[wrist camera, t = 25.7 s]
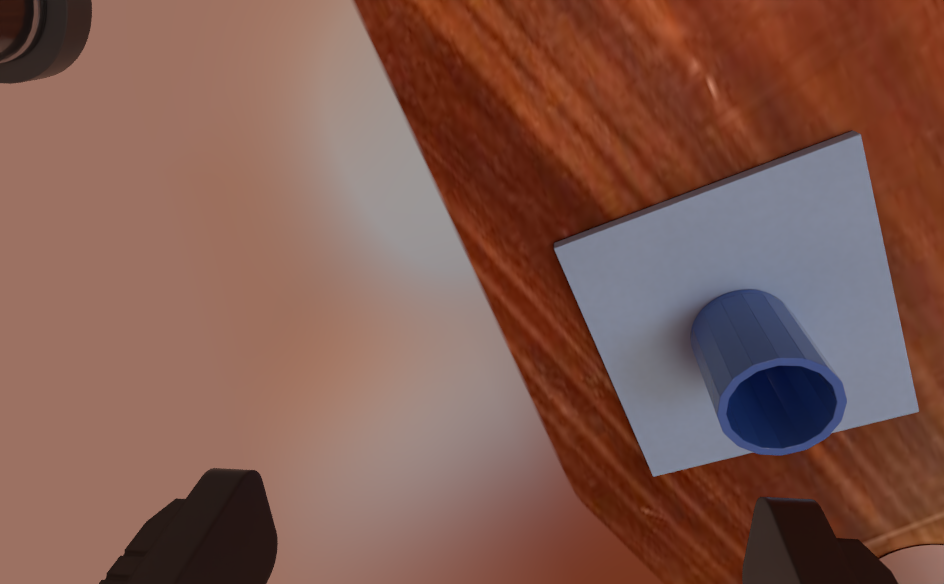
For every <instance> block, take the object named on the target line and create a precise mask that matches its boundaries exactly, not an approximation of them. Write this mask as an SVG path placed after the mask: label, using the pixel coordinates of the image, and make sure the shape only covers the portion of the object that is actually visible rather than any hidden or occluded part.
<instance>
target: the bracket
mask: <svg viewBox="0 0 944 584" xmlns="http://www.w3.org/2000/svg"><path fill="white" fill-rule="evenodd" d="M879 560H880V561H881V562H882V563H883V564H884V565H885V566H886V567H887V568H889V569H890V570H891V571H892V573H893V575H894V577H895V579H896V580H897V582H898V584H944V545H924V546H916V547H911V548H906V549H902V550H899V551H896V552H893V553H891V554H888V555H886V556H884V557H882V558H880V559H879Z"/></svg>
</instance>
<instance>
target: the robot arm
mask: <svg viewBox="0 0 944 584" xmlns="http://www.w3.org/2000/svg"><path fill="white" fill-rule="evenodd" d="M46 13H47V2H46V0H0V63H6V62H11V61H15V60H17V59H20V58H22V57H24V56H25V55H27V54H28V53H29V52H30V51H31V50H32V49H33V48H34V47H35V46H36V44H37V43H38V41H39V40H40V38H41V35H42V33H43V30H44V27H45V22H46ZM276 554H277V533H276V529H275V526H274V522H273V518H272V514H271V511H270V507H269V503H268V500H267V496H266V492H265V489H264V485H263V481H262V478H261V476H260V474H259V473H258V472H257V471H255V470H239V469H219V468H218V469H217V468H213V469H210V470H208V471H207V472H206V473H205V474H204V475H203V476H202V477H201V479H200V480H199V481H198V483H197V484H196V486H195V487H194V488H193V490H192V491H191V493H190V494H189V495H188V497H187V498H186V499H175V500H174V501H172V502H171V503H170V504H168V505H167V506H166V507H165V508H163V509H162V510H161V511H160V512H158V513H157V514H156V515H154V516H153V517H152V518H151V519H149V520H148V521H147V522H146V523H145V524H144V525H143V527H142V528H141V530H140V531H139V532H138V533H137V535H136V536H135V537H134V539H133V540H132V541H131V542H130V544H129V545H128V546H127V548H126V549H125V554H124V555H123V556H120V557H119V558H118V560H117V561H116V562H115V563H114V565H113V566H112V567H111V569H110V570H109V571H108V572H107V577H106V579H105V580H101V582H100V583H99V584H266V583H267V581H268V579H269V577H270V575H271V572H272V570H273V567H274V564H275V559H276ZM743 584H898V582H897V580H896V579H895V577H894V575H893V573H892V571H891V570H890V569H889V568H887V567H886V566H885V565H884V564H883V563H882V562H881V561H880V560H879V559H878V558H877V557H876V556H875V555H874V554H873V553H872V552H871V551H870V550H869V549H868V548H867V547H866V546H865V545H863V544H862V543H861V542H860V541H859V540H858V539H841V538H836V537H835V535H834V533H833V531H832V529H831V527H830V525H829V523H828V521H827V519H826V517H825V515H824V513H823V511H822V509H821V507H820V506H819V504H818V503H817V502H816V501H815V500H812V499H791V498H771V497H760V498H758V500H757V502H756V505H755V509H754V514H753V519H752V524H751V529H750V534H749V539H748V544H747V549H746V554H745V559H744V564H743Z"/></svg>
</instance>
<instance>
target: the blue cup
mask: <svg viewBox="0 0 944 584" xmlns="http://www.w3.org/2000/svg"><path fill="white" fill-rule="evenodd" d="M690 341H691V347H692V349H693V352H694V355H695V358H696V360H697V363H698V366H699V369H700V371H701V374H702V377H703V379H704V382H705V385H706V388H707V390H708V393H709V396H710V399H711V401H712V404H713V407H714V410H715V412H716V415H717V418H718V420H719V423H720V426H721V429H722V431H723V433H724V434H725V435H726V436H727V437H728V438H729V439H730V440H731V441H733V442H734V443H735V444H736V445H737V446H739V447H741V448H743V449H746V450H749V451H751V452H754V453H757V454H762V455H786V454H791V453H795V452H799V451H803V450H806V449H809V448H810V447H812V446H814V445H816V444H817V443H819V442H821V441H823V440H824V439H826V438H827V437H828V436H829V435H830V434H831V433H832V432H833V431H834V429H835V428H836V427H837V426H838V425H839V424H840V422H841V420H842V418H843V415H844V411H845V408H846V404H847V398H846V394H845V390H844V386H843V383H842V381H841V380H840V378H839V377H838V375H837V374H836V372H835V371H834V370H833V368H832V367H831V365H830V364H829V363H828V361H827V360H826V358H825V357H824V356H823V354H822V353H821V351H820V350H819V349H818V347H817V346H816V344H815V343H814V342H813V340H812V339H811V337H810V336H809V335H808V333H807V332H806V330H805V329H804V328H803V326H802V325H801V323H800V322H799V320H798V319H797V318H796V316H795V315H794V314H793V313H792V311H791V310H790V309H789V308H788V307H787V305H786V304H785V303H784V302H783V301H782V300H780V299H779V298H777V297H776V296H774V295H772V294H770V293H767V292H764V291H759V290H737V291H733V292H729V293H726V294H723V295H721V296H719V297H717V298H715V299H714V300H712V301H711V302H709V303H708V304H707V305H706V306H705V307H704V308H703V309H702V310H701V311H700V312H699V314H698V315H697V316H696V318H695V320H694V322H693V325H692V328H691V333H690Z"/></svg>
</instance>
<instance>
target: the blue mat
mask: <svg viewBox="0 0 944 584" xmlns="http://www.w3.org/2000/svg"><path fill="white" fill-rule="evenodd" d="M554 250H555V253H556V255H557V257H558V260H559V262H560V264H561V266H562V269H563V271H564V273H565V276H566V278H567V280H568V283H569V285H570V287H571V289H572V292H573V294H574V296H575V299H576V301H577V303H578V305H579V308H580V310H581V312H582V315H583V317H584V319H585V321H586V324H587V326H588V328H589V331H590V333H591V335H592V338H593V340H594V342H595V344H596V347H597V349H598V351H599V354H600V356H601V358H602V360H603V363H604V365H605V367H606V370H607V372H608V374H609V377H610V379H611V381H612V383H613V386H614V388H615V390H616V393H617V395H618V397H619V399H620V402H621V404H622V406H623V409H624V411H625V413H626V416H627V418H628V420H629V422H630V425H631V427H632V429H633V432H634V434H635V436H636V438H637V441H638V443H639V445H640V448H641V450H642V452H643V454H644V457H645V459H646V461H647V464H648V466H649V468H650V471H651V473H652V475H653V477H654V476H658V475H663V474H667V473H671V472H675V471H679V470H683V469H687V468H691V467H695V466H699V465H703V464H707V463H711V462H716V461H720V460H724V459H728V458H732V457H736V456H740V455H744V454H748V453H752V452H751V451H749V450H746V449H743V448H741V447H739V446H737V445H736V444H735V443H734V442H733V441H731V440H730V439H729V438H728V437H727V436H726V435H725V434H724V433H723V431H722V429H721V426H720V423H719V420H718V418H717V415H716V412H715V410H714V407H713V404H712V401H711V399H710V396H709V393H708V390H707V388H706V385H705V382H704V379H703V377H702V374H701V371H700V369H699V366H698V363H697V360H696V358H695V355H694V352H693V349H692V347H691V341H690V333H691V328H692V325H693V322H694V320H695V318H696V316H697V315H698V314H699V312H700V311H701V310H702V309H703V308H704V307H705V306H706V305H707V304H708V303H709V302H711V301H712V300H714V299H715V298H717V297H719V296H721V295H723V294H726V293H729V292H733V291H737V290H759V291H764V292H767V293H770V294H772V295H774V296H776V297H777V298H779V299H780V300H782V301H783V302H784V303H785V304H786V305H787V307H788V308H789V309H790V310H791V311H792V313H793V314H794V315H795V316H796V318H797V319H798V320H799V322H800V323H801V325H802V326H803V328H804V329H805V330H806V332H807V333H808V335H809V336H810V337H811V339H812V340H813V342H814V343H815V344H816V346H817V347H818V349H819V350H820V351H821V353H822V354H823V356H824V357H825V358H826V360H827V361H828V363H829V364H830V365H831V367H832V368H833V370H834V371H835V372H836V374H837V375H838V377H839V378H840V380H841V381H842V383H843V386H844V390H845V394H846V398H847V404H846V408H845V411H844V415H843V418H842V420H841V422H840V424H839V425H838V426H837V427H836V428H835V429H834V431H833V432H832V433H834V432H838V431H842V430H846V429H850V428H854V427H858V426H862V425H867V424H871V423H875V422H879V421H883V420H887V419H891V418H895V417H899V416H903V415H907V414H911V413H916V412H919V409H918V404H917V399H916V395H915V390H914V385H913V380H912V376H911V371H910V366H909V361H908V357H907V352H906V347H905V342H904V338H903V333H902V328H901V323H900V319H899V314H898V309H897V304H896V300H895V295H894V290H893V285H892V281H891V276H890V271H889V267H888V262H887V257H886V252H885V248H884V243H883V238H882V233H881V229H880V224H879V219H878V214H877V210H876V205H875V200H874V195H873V191H872V186H871V181H870V176H869V172H868V167H867V162H866V157H865V153H864V148H863V143H862V138H861V134H859V133H857V132H855V131H851V132H848V133H845V134H843V135H840V136H837V137H835V138H832V139H829V140H827V141H824V142H821V143H819V144H816V145H813V146H811V147H808V148H805V149H803V150H800V151H797V152H795V153H792V154H789V155H787V156H784V157H781V158H779V159H776V160H773V161H771V162H768V163H765V164H763V165H760V166H757V167H755V168H752V169H750V170H747V171H744V172H742V173H739V174H736V175H734V176H731V177H728V178H726V179H723V180H720V181H718V182H715V183H712V184H710V185H707V186H704V187H702V188H699V189H696V190H694V191H691V192H688V193H686V194H683V195H680V196H678V197H675V198H672V199H670V200H667V201H664V202H662V203H659V204H656V205H654V206H651V207H648V208H646V209H643V210H641V211H638V212H635V213H633V214H630V215H627V216H625V217H622V218H619V219H617V220H614V221H611V222H609V223H606V224H603V225H601V226H598V227H595V228H593V229H590V230H587V231H585V232H582V233H579V234H577V235H574V236H571V237H569V238H566V239H563V240H561V241H558V242H555V243H554Z"/></svg>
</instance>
